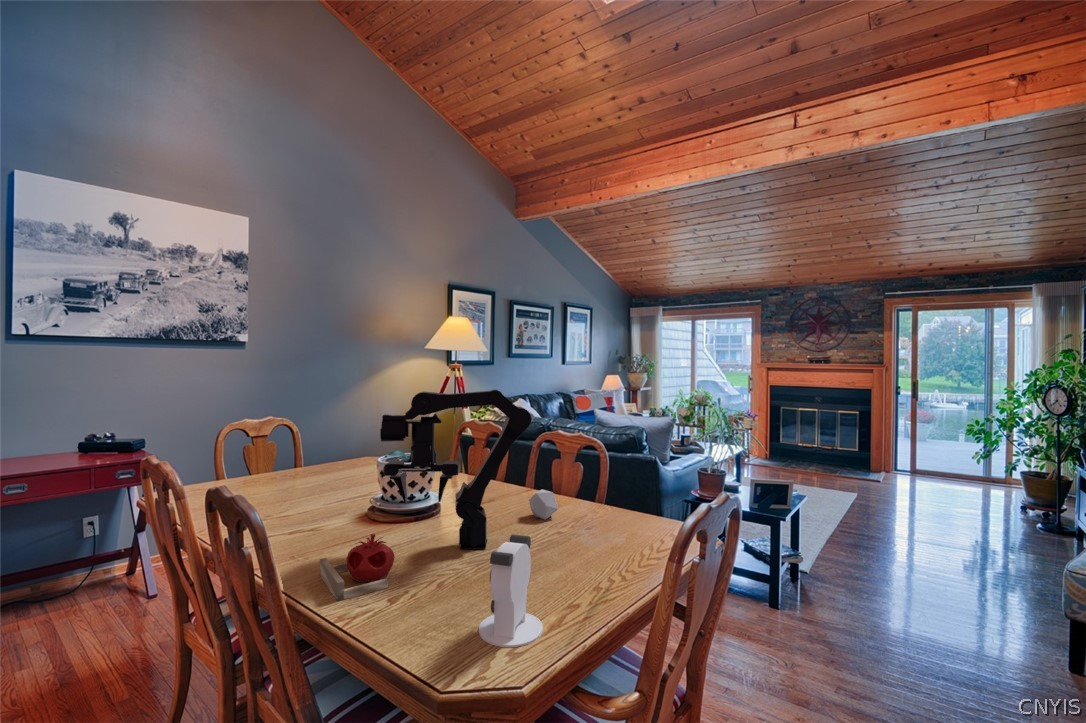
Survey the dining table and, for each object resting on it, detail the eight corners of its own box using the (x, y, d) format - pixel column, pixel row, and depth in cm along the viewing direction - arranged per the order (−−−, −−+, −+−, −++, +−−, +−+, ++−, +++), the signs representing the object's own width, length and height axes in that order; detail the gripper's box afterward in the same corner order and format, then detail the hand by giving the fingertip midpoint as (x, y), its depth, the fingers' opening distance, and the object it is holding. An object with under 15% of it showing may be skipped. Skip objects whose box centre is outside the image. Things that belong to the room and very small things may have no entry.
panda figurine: (494, 607, 95) (495, 530, 95) (551, 616, 92) (551, 536, 92) (468, 640, 83) (468, 552, 84) (531, 652, 80) (531, 560, 80)
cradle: (365, 564, 115) (365, 549, 115) (387, 587, 103) (387, 570, 103) (319, 575, 109) (319, 559, 109) (337, 601, 97) (337, 582, 97)
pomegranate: (357, 566, 114) (357, 526, 114) (400, 566, 114) (400, 526, 114) (339, 586, 104) (338, 542, 104) (385, 586, 104) (385, 542, 104)
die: (564, 520, 152) (560, 489, 158) (550, 512, 145) (547, 480, 151) (539, 527, 154) (536, 496, 160) (525, 519, 148) (523, 488, 154)
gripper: (463, 436, 134) (463, 493, 134) (394, 436, 134) (394, 493, 134) (457, 442, 123) (457, 504, 123) (382, 442, 123) (382, 505, 122)
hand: (422, 501), depth 126 cm, fingers open, 8 cm apart
